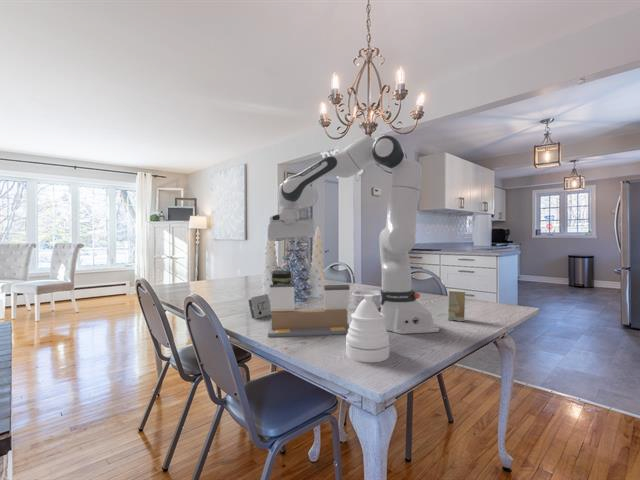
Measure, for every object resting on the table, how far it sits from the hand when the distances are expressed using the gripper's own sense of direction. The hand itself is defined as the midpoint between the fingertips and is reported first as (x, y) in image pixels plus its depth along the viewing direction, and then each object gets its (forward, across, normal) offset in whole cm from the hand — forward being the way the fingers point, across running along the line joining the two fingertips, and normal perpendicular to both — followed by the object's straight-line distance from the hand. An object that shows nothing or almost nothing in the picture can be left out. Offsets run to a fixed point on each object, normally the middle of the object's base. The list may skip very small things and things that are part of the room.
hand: (292, 248), depth 141 cm
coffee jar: (+22, +6, -27) cm, 35 cm away
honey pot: (+44, -17, +34) cm, 58 cm away
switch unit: (+34, -3, +8) cm, 35 cm away
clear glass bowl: (+28, -33, -19) cm, 48 cm away
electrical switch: (+26, +16, -14) cm, 34 cm away
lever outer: (+26, +7, +10) cm, 29 cm away
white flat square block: (+28, -13, +11) cm, 33 cm away
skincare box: (+38, -64, +4) cm, 74 cm away
